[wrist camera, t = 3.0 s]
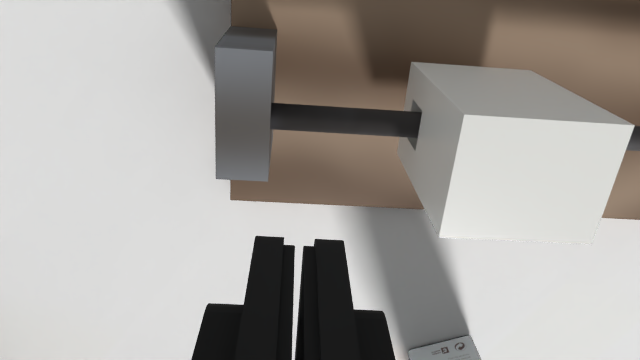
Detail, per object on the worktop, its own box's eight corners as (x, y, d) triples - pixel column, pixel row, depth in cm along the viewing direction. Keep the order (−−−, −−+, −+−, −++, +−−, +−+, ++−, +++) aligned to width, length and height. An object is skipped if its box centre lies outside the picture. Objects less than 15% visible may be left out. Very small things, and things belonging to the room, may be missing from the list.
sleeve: (411, 61, 20) (464, 114, 14) (530, 70, 21) (634, 125, 14) (397, 153, 22) (438, 237, 16) (507, 159, 22) (591, 244, 16)
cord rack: (235, -63, 22) (208, -66, 15) (869, -8, 24) (1097, 11, 17) (233, 186, 27) (213, 269, 20) (757, 213, 29) (899, 295, 22)
